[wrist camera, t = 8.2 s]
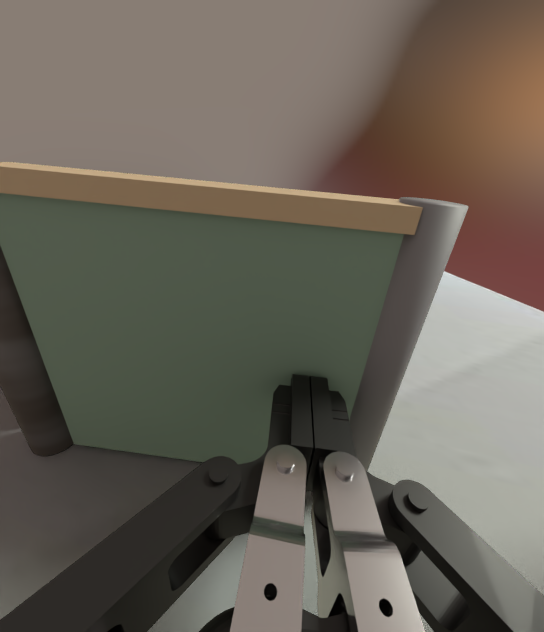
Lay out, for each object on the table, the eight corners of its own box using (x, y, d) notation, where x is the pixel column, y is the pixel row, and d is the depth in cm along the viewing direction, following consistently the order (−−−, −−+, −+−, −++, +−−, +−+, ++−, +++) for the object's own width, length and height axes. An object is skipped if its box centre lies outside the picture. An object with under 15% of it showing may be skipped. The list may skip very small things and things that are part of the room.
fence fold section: (68, 450, 16) (-45, 158, 9) (92, 421, 17) (12, 159, 11) (367, 492, 15) (482, 210, 8) (360, 457, 17) (450, 201, 10)
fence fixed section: (12, 326, 26) (-67, 130, 19) (45, 319, 28) (-18, 134, 20) (33, 464, 15) (-133, 130, 8) (85, 440, 17) (-18, 138, 10)
